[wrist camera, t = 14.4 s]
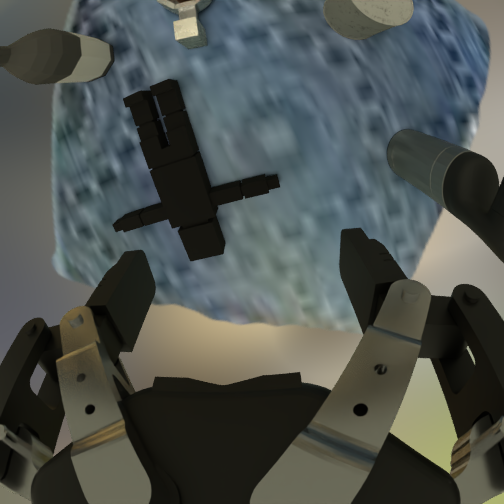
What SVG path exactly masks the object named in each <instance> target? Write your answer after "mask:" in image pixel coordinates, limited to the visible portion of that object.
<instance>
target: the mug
mask: <svg viewBox="0 0 504 504" xmlns="http://www.w3.org/2000/svg"><path fill="white" fill-rule="evenodd" d="M157 1H158V2H159V3H160V4H161V5H162V6H163V7H164V8H166V9H168V10H170V11H171V12H173V13H175V14H178V15H179V20H178V21H174V22H173V23H174V31H175V39H176V41H178V42H179V43H180V44H182V45H183V46H185V47H186V48H187V49H193V48H198V47H203V46H207V38H206V31H205V29H204V27H203V26H202V24H201V23H200V22H199V18H198V12H200V11H202V10H204V9H205V8H206V7H207V6H208V5H209V4H210V3H211V1H212V0H192V1H187V2H183V3H179V2H177V1H176V0H157Z"/></svg>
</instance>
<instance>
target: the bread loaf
mask: <svg viewBox="0 0 504 504" xmlns="http://www.w3.org/2000/svg"><path fill="white" fill-rule="evenodd" d="M176 1H177V2H179V3H183V2H187V1H192V0H176Z"/></svg>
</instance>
